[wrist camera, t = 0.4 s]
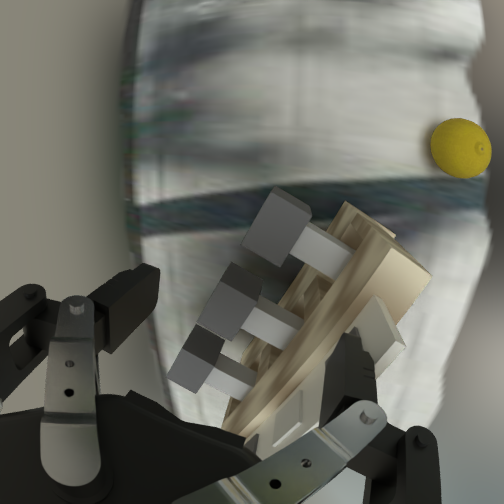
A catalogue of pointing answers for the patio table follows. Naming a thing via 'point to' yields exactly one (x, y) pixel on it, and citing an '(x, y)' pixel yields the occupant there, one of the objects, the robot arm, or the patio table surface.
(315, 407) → the card
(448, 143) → the lemon
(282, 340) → the button mid
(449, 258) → the patio table surface
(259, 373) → the board
